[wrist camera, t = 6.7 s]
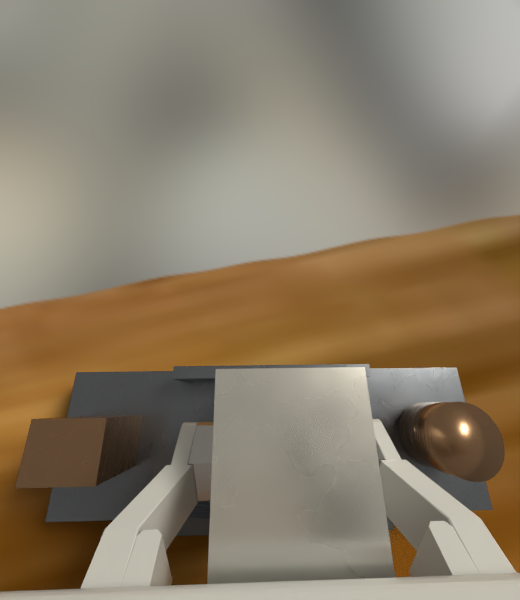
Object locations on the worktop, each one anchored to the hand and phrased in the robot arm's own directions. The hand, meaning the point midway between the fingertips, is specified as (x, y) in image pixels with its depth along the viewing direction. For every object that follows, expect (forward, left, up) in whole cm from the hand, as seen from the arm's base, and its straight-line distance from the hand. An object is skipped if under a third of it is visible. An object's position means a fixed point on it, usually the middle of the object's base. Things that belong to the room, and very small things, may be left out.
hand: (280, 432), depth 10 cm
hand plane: (0, -1, -8) cm, 8 cm away
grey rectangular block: (0, -1, -5) cm, 5 cm away
